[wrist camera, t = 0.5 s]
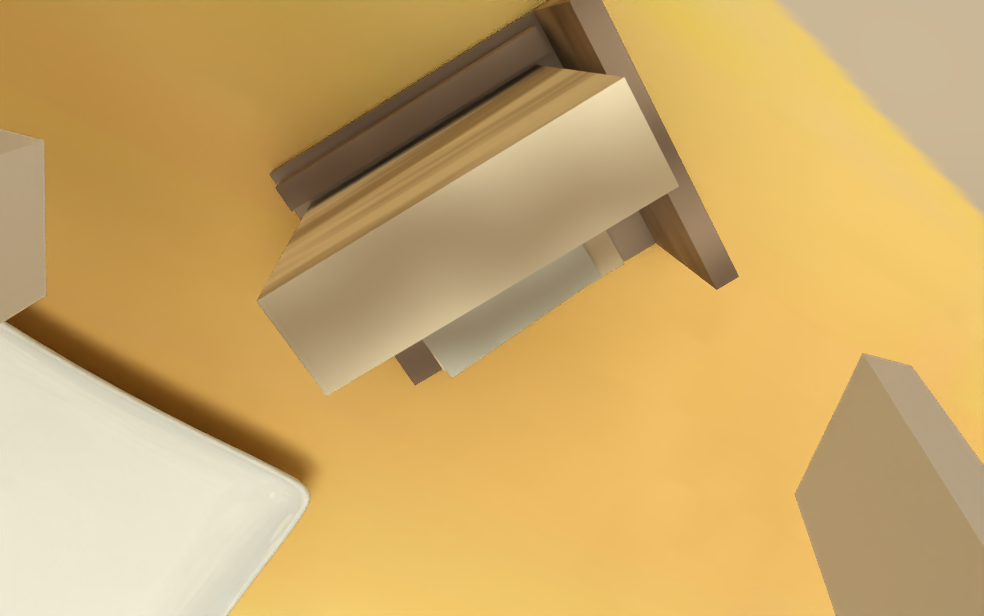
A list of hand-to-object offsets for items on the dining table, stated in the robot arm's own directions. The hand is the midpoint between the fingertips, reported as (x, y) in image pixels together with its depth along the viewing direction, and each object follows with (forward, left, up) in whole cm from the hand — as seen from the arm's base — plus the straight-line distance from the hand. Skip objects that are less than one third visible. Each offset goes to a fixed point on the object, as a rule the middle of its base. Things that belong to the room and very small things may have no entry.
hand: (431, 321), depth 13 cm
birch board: (0, +2, -25) cm, 25 cm away
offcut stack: (+3, +7, -25) cm, 26 cm away
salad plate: (+26, -8, -27) cm, 38 cm away
